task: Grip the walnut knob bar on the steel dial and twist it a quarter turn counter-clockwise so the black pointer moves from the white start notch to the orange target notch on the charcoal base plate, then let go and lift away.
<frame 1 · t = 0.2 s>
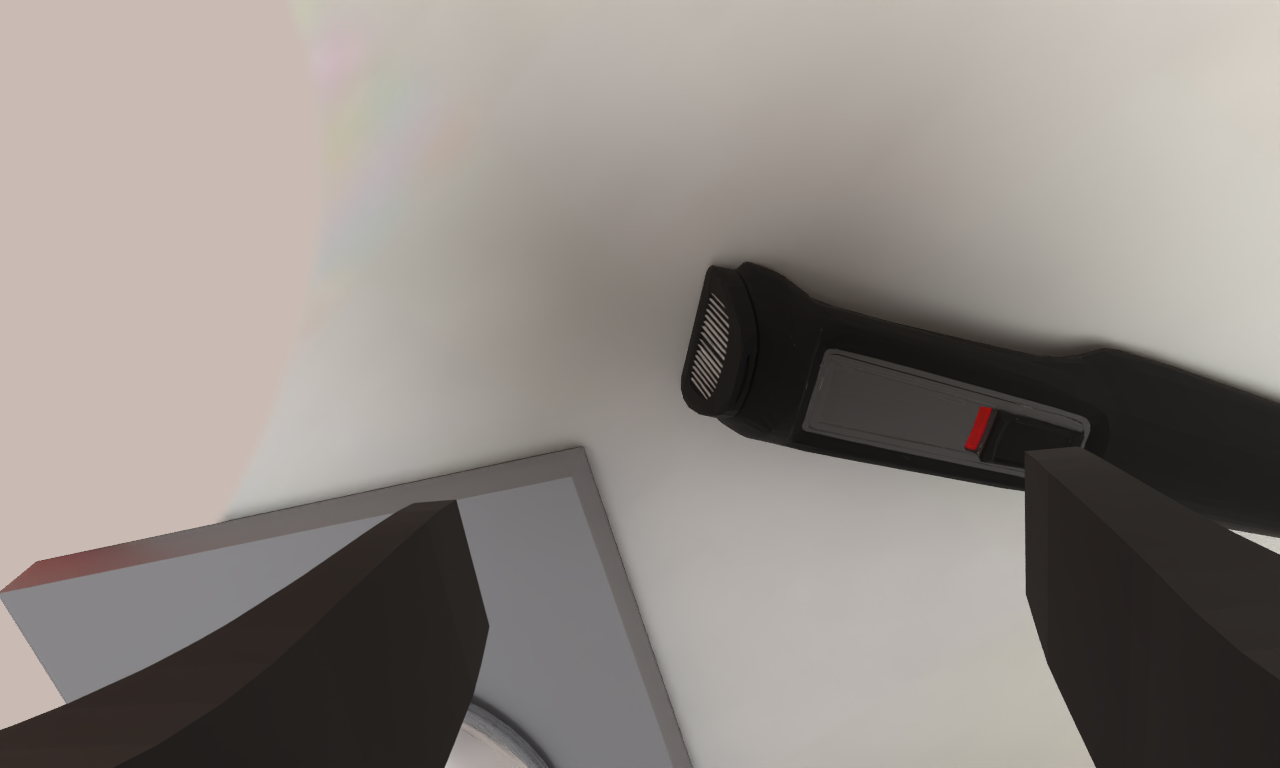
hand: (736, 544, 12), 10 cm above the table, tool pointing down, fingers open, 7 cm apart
electric trimmer: (1014, 384, 22), on the table
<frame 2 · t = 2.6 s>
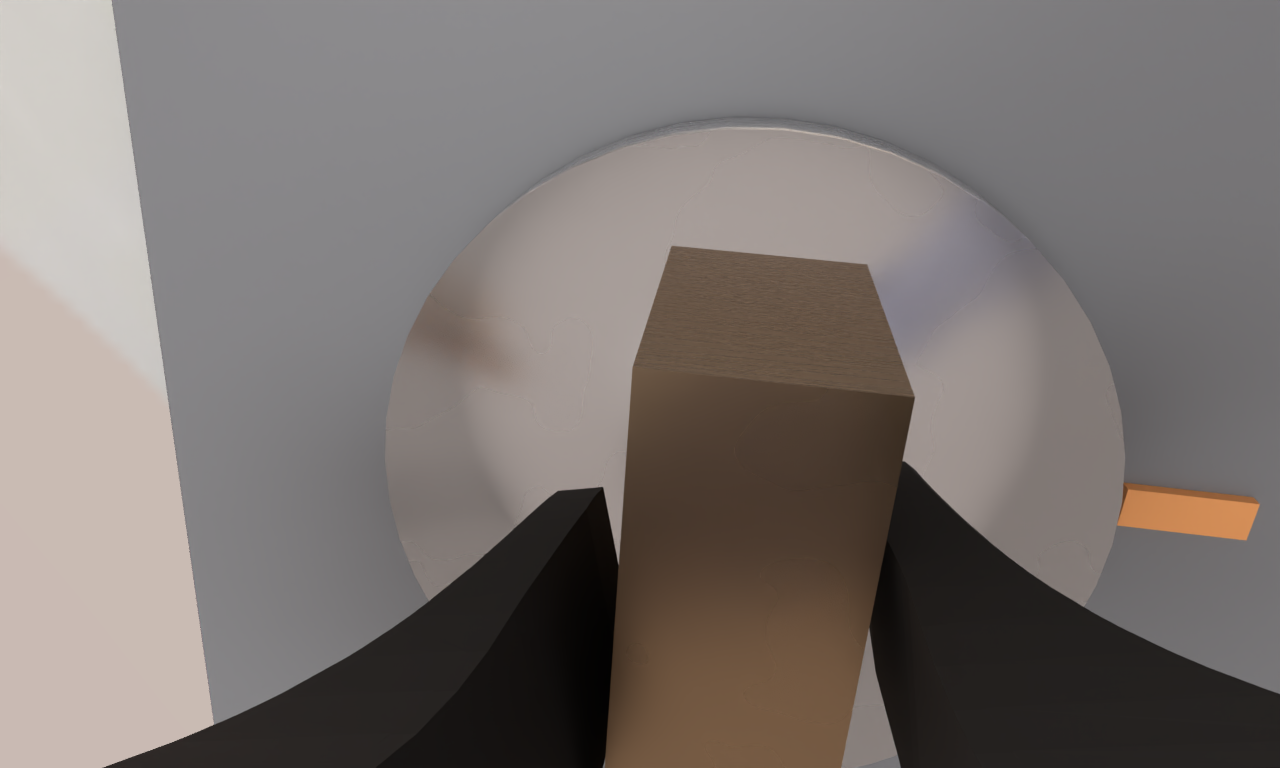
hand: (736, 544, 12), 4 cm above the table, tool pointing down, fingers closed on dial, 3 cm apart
dial: (735, 562, 12), point 4 cm above the table, hinge at 0.1°, touching gripper
dial base: (741, 415, 16), on the table
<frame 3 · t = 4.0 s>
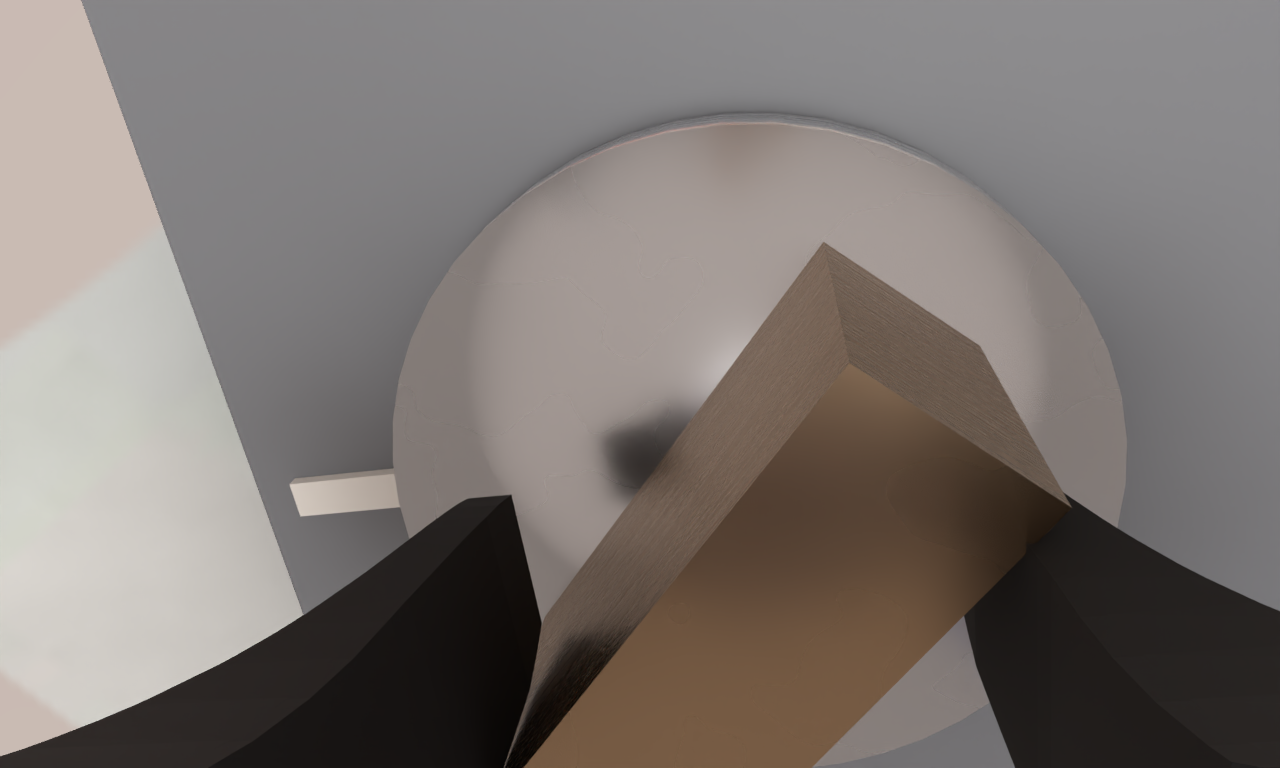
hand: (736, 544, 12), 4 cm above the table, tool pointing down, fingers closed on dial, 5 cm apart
dial: (739, 553, 12), point 4 cm above the table, hinge at 48.3°, touching gripper
dial base: (745, 409, 16), on the table
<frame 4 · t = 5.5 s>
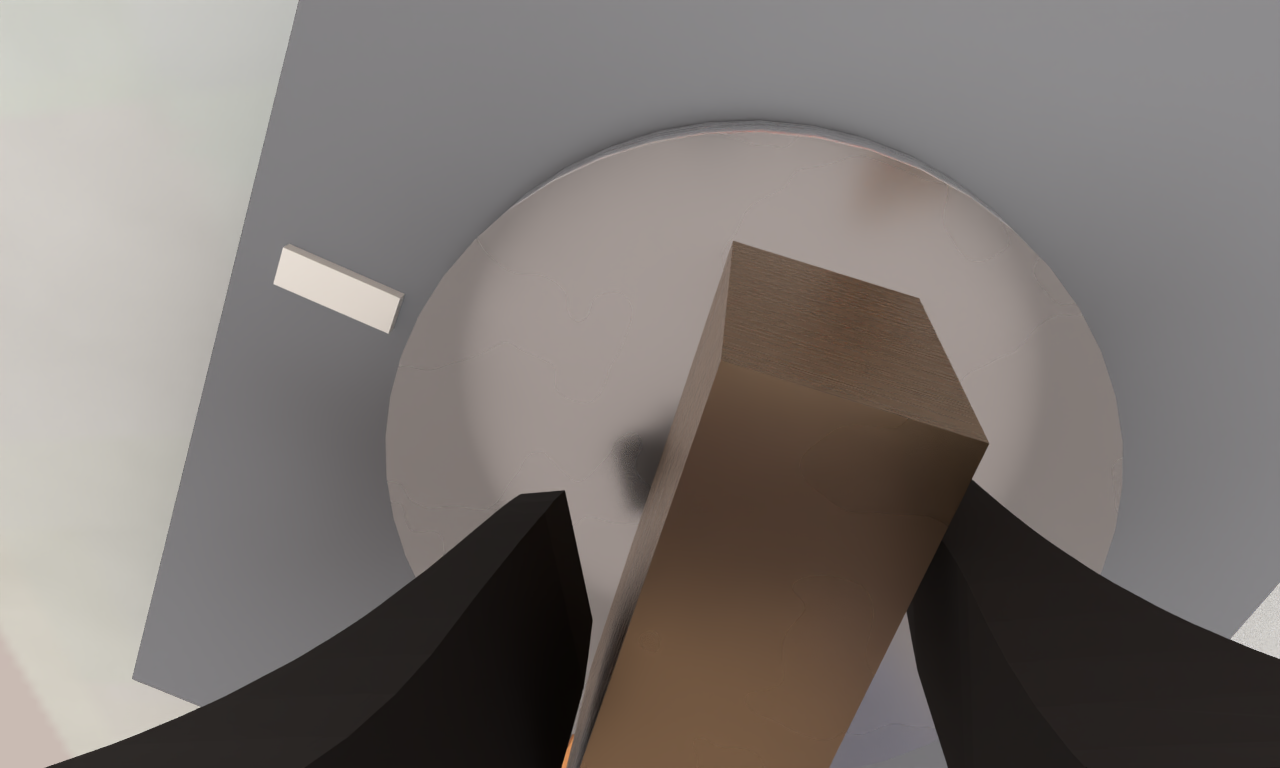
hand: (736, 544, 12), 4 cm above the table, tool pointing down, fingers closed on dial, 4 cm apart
dial: (734, 564, 12), point 4 cm above the table, hinge at 97.0°, touching gripper
dial base: (741, 417, 16), on the table
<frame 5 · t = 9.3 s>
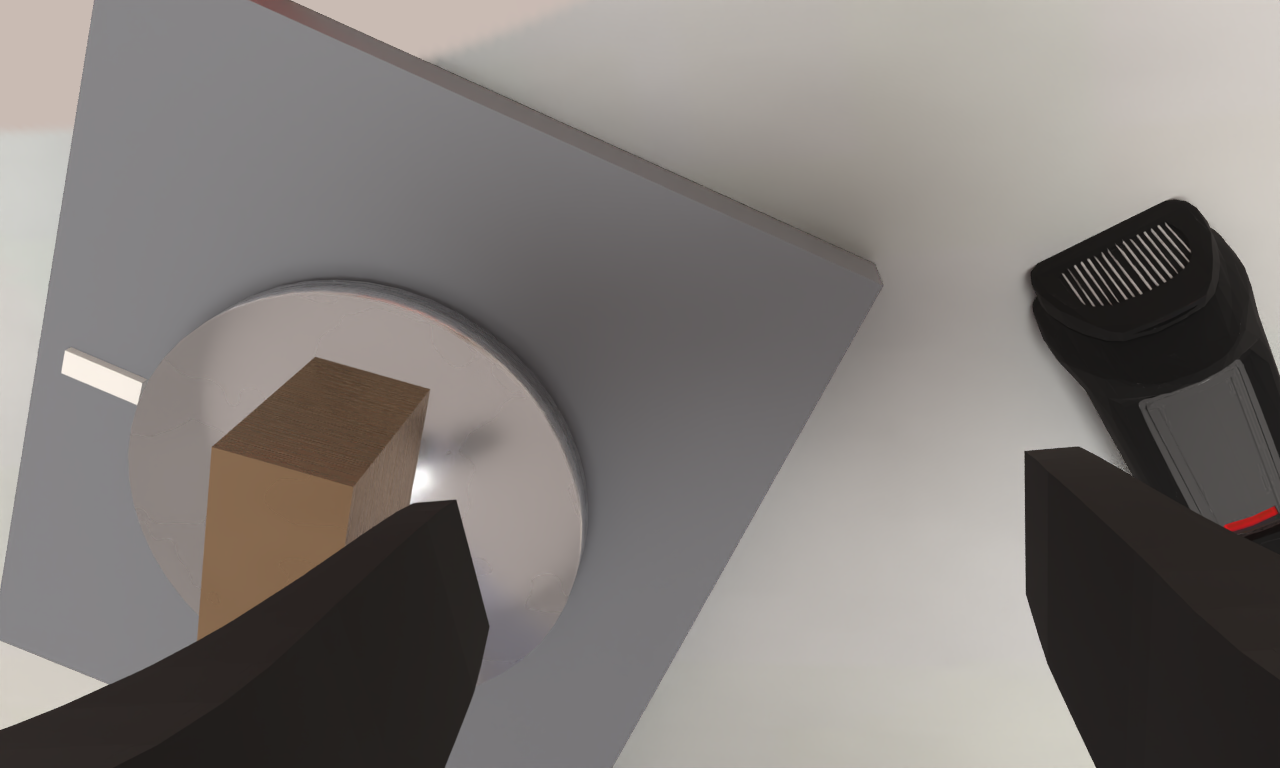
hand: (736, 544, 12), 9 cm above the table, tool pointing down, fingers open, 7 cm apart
dial: (322, 555, 19), point 4 cm above the table, hinge at 98.6°
dial base: (396, 456, 23), on the table
electric trimmer: (1225, 501, 22), on the table
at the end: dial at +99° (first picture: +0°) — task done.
